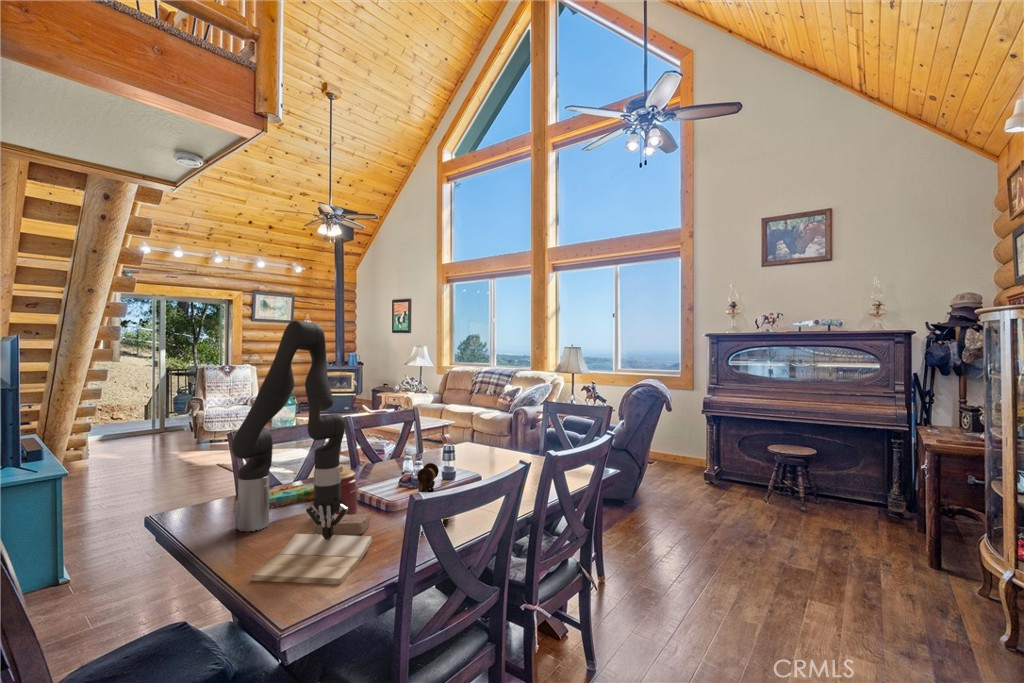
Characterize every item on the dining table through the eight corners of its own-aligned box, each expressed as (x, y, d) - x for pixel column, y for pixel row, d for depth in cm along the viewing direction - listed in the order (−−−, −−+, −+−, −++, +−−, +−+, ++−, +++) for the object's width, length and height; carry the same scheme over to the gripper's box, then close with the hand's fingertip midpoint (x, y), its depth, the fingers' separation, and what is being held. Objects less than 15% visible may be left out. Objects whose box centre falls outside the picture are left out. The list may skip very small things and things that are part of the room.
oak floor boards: (252, 580, 123) (252, 574, 123) (278, 559, 135) (278, 554, 135) (340, 584, 121) (340, 578, 121) (359, 562, 133) (359, 557, 133)
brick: (311, 536, 152) (311, 521, 152) (322, 526, 161) (322, 512, 161) (362, 537, 152) (362, 522, 152) (370, 526, 160) (370, 513, 160)
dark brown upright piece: (413, 514, 170) (413, 459, 170) (453, 516, 169) (453, 460, 169) (400, 531, 156) (400, 470, 156) (443, 532, 154) (443, 472, 154)
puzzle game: (262, 489, 185) (315, 480, 198) (262, 501, 186) (315, 491, 198) (268, 497, 176) (323, 487, 188) (268, 509, 176) (323, 498, 188)
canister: (362, 514, 170) (362, 466, 170) (324, 522, 163) (324, 471, 163) (352, 504, 181) (352, 458, 181) (316, 511, 174) (316, 463, 174)
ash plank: (280, 558, 136) (279, 553, 136) (296, 538, 145) (295, 533, 144) (360, 561, 134) (359, 556, 134) (371, 540, 143) (371, 536, 142)
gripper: (299, 484, 138) (300, 543, 139) (343, 485, 137) (343, 544, 137) (312, 477, 146) (313, 532, 146) (353, 477, 145) (354, 533, 145)
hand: (328, 538), depth 142 cm, fingers closed
